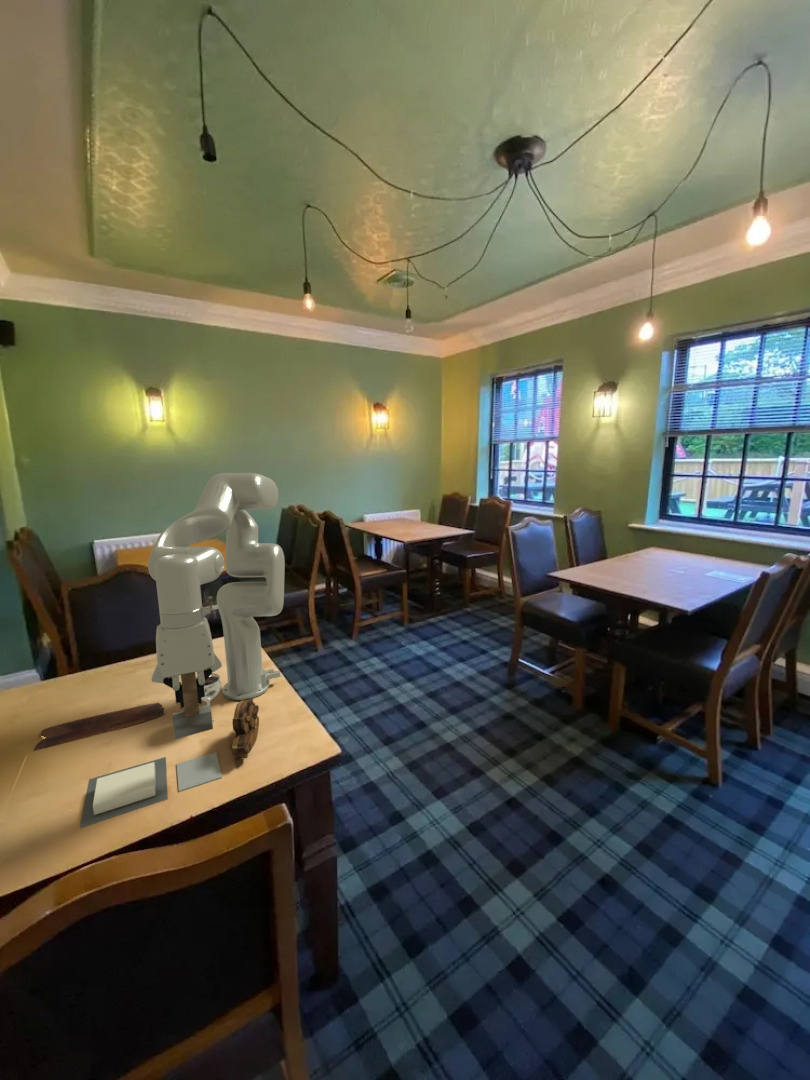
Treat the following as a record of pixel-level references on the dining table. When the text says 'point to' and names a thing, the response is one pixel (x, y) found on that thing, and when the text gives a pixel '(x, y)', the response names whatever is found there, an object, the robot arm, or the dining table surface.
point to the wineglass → (211, 688)
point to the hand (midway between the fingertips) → (190, 702)
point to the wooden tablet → (98, 725)
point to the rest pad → (198, 771)
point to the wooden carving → (245, 727)
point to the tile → (124, 788)
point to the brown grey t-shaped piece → (191, 711)
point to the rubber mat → (160, 796)
